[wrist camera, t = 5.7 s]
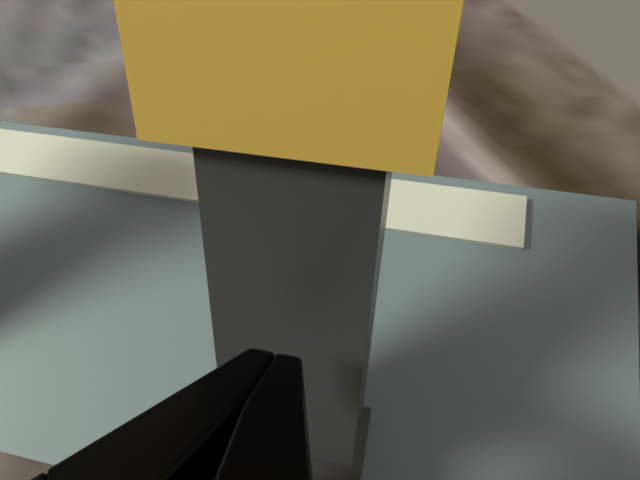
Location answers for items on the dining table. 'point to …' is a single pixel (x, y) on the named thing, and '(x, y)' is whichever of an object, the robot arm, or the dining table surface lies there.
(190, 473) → the robot arm
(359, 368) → the lever
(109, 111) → the dining table surface
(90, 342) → the switch panel
